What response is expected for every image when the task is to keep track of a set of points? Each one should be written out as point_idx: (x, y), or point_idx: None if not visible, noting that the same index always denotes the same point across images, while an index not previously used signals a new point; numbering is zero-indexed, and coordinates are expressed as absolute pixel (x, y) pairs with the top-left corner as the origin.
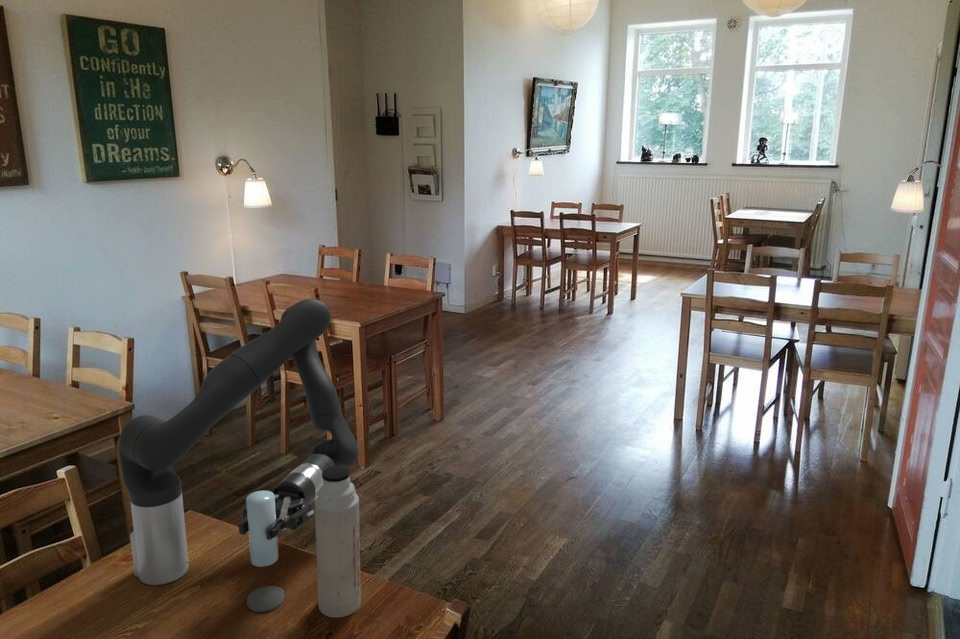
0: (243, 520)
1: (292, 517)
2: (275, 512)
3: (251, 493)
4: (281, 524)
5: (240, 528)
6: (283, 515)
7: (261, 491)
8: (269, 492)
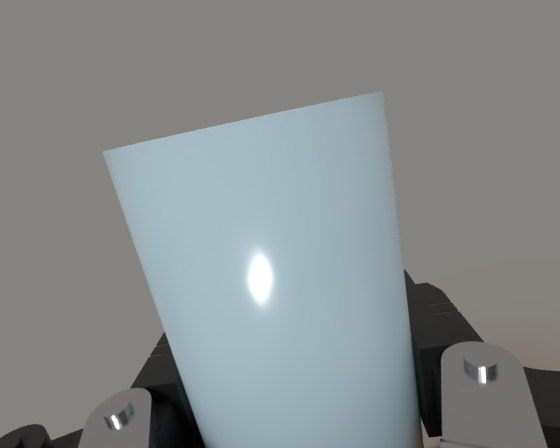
0: (448, 314)
1: (13, 438)
2: (165, 332)
3: (381, 92)
4: (134, 385)
5: None
6: (110, 440)
7: (297, 110)
8: (176, 135)
